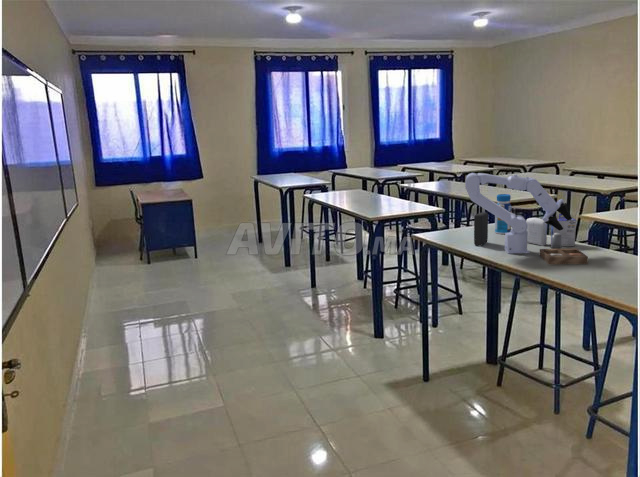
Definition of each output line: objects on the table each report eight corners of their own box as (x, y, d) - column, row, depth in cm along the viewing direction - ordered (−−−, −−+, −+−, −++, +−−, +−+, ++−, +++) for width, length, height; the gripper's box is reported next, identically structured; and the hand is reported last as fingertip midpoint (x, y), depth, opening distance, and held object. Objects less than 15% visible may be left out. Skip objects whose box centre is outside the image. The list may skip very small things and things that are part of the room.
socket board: (548, 264, 215) (549, 256, 215) (539, 255, 229) (539, 248, 228) (587, 263, 213) (587, 255, 212) (575, 254, 227) (576, 247, 226)
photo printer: (548, 244, 246) (549, 218, 243) (542, 246, 244) (543, 220, 241) (529, 240, 255) (530, 216, 252) (523, 242, 253) (524, 217, 250)
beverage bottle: (491, 231, 278) (491, 194, 274) (505, 230, 280) (506, 193, 275) (500, 235, 270) (501, 196, 266) (514, 233, 272) (515, 195, 267)
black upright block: (480, 241, 260) (480, 211, 256) (488, 242, 257) (488, 212, 254) (472, 245, 253) (473, 214, 249) (481, 246, 250) (481, 215, 247)
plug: (552, 254, 230) (553, 234, 228) (549, 251, 234) (550, 232, 232) (562, 254, 229) (563, 234, 227) (559, 251, 233) (560, 232, 231)
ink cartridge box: (572, 243, 246) (573, 213, 242) (575, 246, 240) (577, 215, 237) (549, 243, 248) (551, 213, 244) (552, 246, 242) (553, 215, 239)
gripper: (543, 207, 223) (564, 231, 223) (560, 188, 229) (580, 212, 229) (532, 212, 229) (552, 236, 229) (549, 194, 235) (568, 217, 235)
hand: (565, 224), depth 229 cm, fingers open, 7 cm apart
